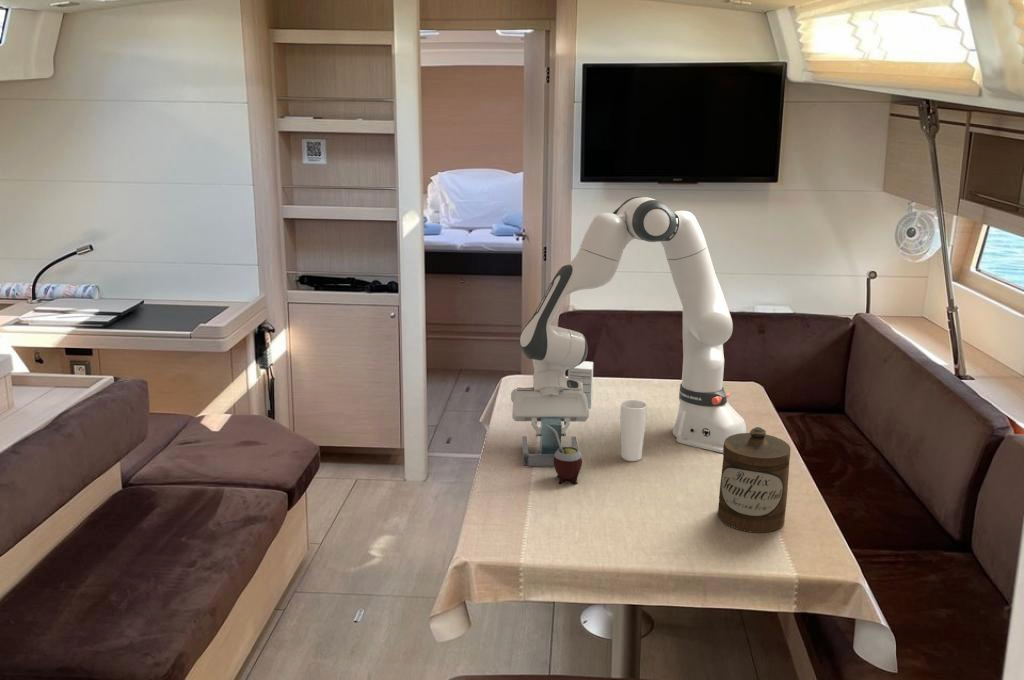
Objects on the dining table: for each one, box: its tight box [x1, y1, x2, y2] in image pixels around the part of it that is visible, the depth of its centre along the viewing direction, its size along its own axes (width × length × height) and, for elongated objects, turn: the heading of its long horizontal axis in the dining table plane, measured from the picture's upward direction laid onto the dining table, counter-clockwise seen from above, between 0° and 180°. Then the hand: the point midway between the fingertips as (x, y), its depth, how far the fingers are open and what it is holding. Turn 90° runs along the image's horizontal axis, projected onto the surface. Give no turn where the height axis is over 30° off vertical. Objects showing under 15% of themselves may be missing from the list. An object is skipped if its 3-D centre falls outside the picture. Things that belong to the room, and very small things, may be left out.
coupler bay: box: [521, 435, 580, 468], centre depth 250 cm, size 13×14×3 cm
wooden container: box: [717, 426, 791, 533], centre depth 215 cm, size 15×15×22 cm
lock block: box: [539, 417, 563, 454], centre depth 250 cm, size 8×5×9 cm, turn 1°
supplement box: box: [567, 360, 594, 409], centre depth 288 cm, size 7×7×13 cm
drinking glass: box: [619, 399, 648, 462], centre depth 248 cm, size 7×7×15 cm
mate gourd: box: [546, 424, 583, 485], centre depth 234 cm, size 8×8×15 cm
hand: (551, 435), depth 249 cm, fingers closed on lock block, 5 cm apart
